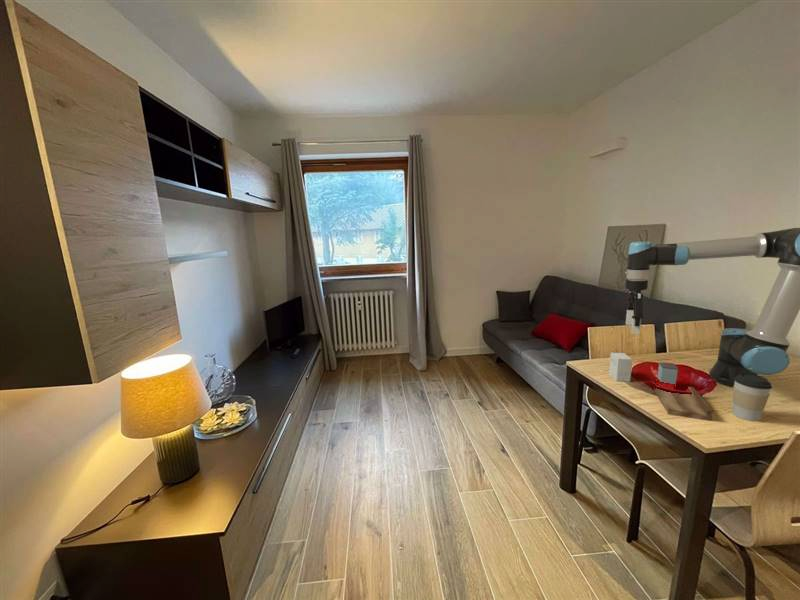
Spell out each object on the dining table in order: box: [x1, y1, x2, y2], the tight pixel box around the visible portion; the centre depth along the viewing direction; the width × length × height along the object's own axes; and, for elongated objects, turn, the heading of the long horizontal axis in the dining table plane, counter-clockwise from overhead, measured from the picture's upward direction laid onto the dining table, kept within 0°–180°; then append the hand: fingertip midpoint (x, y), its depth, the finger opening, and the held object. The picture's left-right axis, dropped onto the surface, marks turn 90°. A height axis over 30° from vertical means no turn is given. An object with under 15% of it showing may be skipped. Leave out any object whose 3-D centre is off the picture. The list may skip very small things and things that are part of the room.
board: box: [654, 386, 714, 422], centre depth 124 cm, size 12×19×4 cm, turn 155°
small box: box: [608, 352, 633, 382], centre depth 147 cm, size 8×6×10 cm
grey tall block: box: [656, 361, 679, 386], centre depth 138 cm, size 6×5×10 cm
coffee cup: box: [732, 373, 773, 422], centre depth 115 cm, size 9×9×15 cm
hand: (632, 328), depth 141 cm, fingers open, 13 cm apart
